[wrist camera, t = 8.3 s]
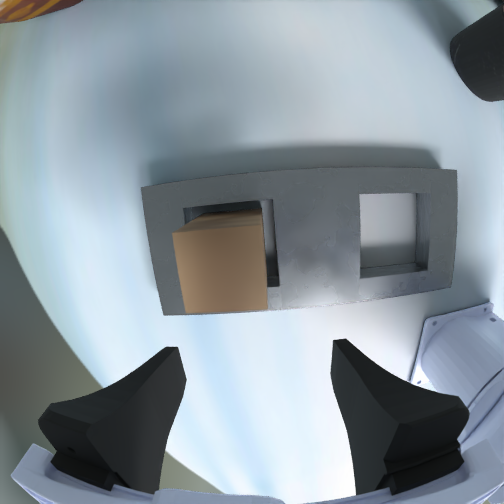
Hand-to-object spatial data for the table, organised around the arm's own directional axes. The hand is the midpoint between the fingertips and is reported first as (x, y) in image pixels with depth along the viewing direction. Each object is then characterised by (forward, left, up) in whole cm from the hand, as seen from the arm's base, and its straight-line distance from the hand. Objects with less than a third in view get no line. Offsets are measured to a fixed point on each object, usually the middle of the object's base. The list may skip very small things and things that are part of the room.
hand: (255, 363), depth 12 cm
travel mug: (-22, -19, -9) cm, 30 cm away
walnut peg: (+1, -4, -9) cm, 9 cm away
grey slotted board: (-4, -4, -9) cm, 10 cm away
